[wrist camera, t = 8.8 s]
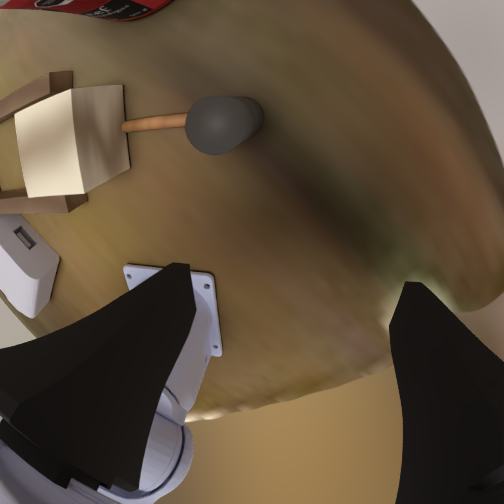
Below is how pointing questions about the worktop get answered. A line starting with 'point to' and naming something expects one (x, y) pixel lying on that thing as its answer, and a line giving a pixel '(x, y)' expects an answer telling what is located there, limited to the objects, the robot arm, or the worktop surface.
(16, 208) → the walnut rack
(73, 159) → the cream grey uneven dumbbell
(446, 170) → the worktop surface
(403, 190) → the worktop surface
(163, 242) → the worktop surface
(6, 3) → the canned food
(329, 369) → the worktop surface
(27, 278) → the charger
